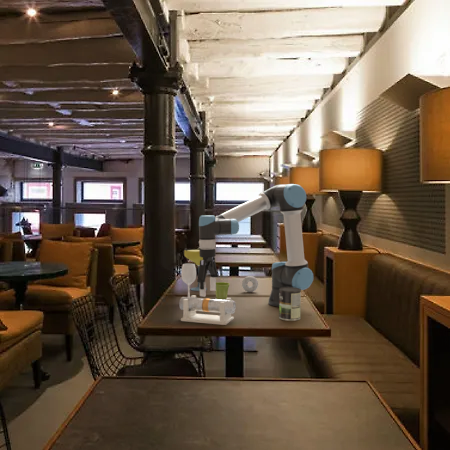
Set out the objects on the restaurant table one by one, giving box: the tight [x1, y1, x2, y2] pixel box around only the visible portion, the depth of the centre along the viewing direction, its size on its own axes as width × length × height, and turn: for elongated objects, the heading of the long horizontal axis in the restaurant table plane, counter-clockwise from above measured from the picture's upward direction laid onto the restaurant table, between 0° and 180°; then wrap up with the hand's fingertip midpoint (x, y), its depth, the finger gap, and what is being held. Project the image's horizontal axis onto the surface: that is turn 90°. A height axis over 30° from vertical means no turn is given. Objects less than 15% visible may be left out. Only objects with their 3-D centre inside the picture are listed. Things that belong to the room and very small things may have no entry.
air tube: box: [178, 296, 237, 315], centre depth 229 cm, size 26×6×6 cm, turn 71°
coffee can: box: [278, 287, 302, 322], centre depth 232 cm, size 10×10×14 cm
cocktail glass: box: [183, 248, 208, 292], centre depth 306 cm, size 18×18×25 cm
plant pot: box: [214, 281, 231, 300], centre depth 278 cm, size 9×9×9 cm
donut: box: [241, 275, 259, 293], centre depth 298 cm, size 10×4×10 cm, turn 88°
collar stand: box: [180, 294, 235, 326], centre depth 229 cm, size 22×12×10 cm, turn 71°
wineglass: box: [180, 263, 197, 297], centre depth 268 cm, size 9×9×21 cm
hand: (208, 293), depth 228 cm, fingers open, 13 cm apart
